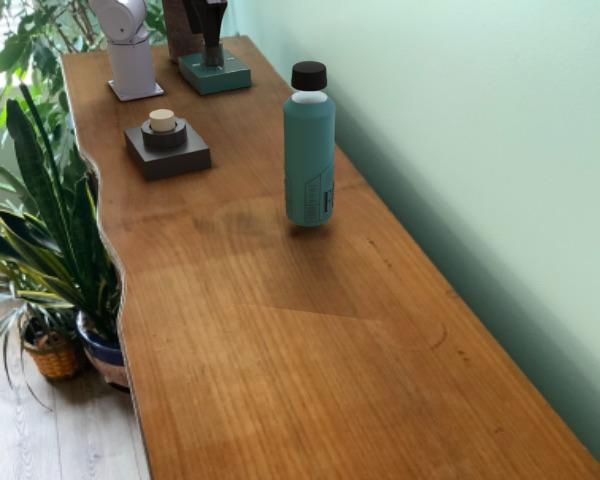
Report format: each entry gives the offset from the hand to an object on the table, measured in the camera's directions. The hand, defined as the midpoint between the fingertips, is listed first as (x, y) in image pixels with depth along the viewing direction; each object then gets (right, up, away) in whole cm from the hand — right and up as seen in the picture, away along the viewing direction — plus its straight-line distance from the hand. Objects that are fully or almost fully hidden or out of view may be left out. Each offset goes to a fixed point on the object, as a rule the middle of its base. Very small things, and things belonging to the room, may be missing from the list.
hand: (205, 39), depth 109 cm
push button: (-4, -22, -15) cm, 27 cm away
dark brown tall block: (-6, +7, +19) cm, 21 cm away
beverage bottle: (+18, -39, -24) cm, 50 cm away
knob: (0, +1, +8) cm, 8 cm away
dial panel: (0, -1, +11) cm, 11 cm away
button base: (-4, -25, -11) cm, 28 cm away
